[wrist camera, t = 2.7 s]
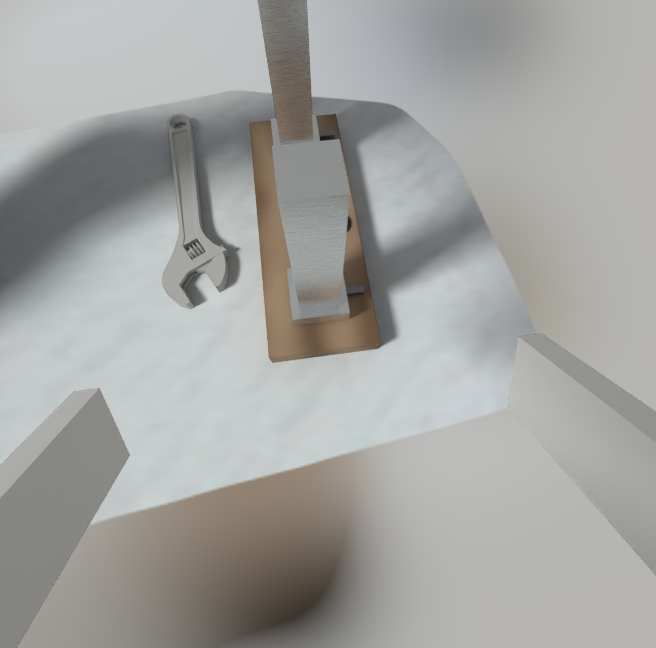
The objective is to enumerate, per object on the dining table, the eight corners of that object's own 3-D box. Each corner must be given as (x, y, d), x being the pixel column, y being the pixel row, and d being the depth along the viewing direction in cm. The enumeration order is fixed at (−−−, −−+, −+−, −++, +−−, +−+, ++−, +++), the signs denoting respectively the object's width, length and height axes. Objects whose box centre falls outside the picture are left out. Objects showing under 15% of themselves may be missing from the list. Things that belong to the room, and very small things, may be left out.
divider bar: (272, 362, 32) (268, 357, 30) (253, 137, 42) (249, 121, 40) (377, 348, 33) (380, 342, 31) (335, 129, 42) (335, 112, 40)
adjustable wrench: (171, 126, 43) (164, 113, 41) (223, 121, 43) (219, 108, 42) (168, 310, 34) (160, 303, 33) (233, 302, 35) (228, 295, 33)
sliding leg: (293, 325, 31) (263, 216, 16) (288, 276, 33) (256, 136, 18) (367, 316, 31) (403, 200, 17) (358, 267, 33) (383, 123, 18)
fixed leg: (276, 164, 38) (241, -25, 23) (272, 130, 39) (238, -67, 24) (337, 157, 38) (343, -33, 23) (331, 124, 40) (333, -74, 24)
